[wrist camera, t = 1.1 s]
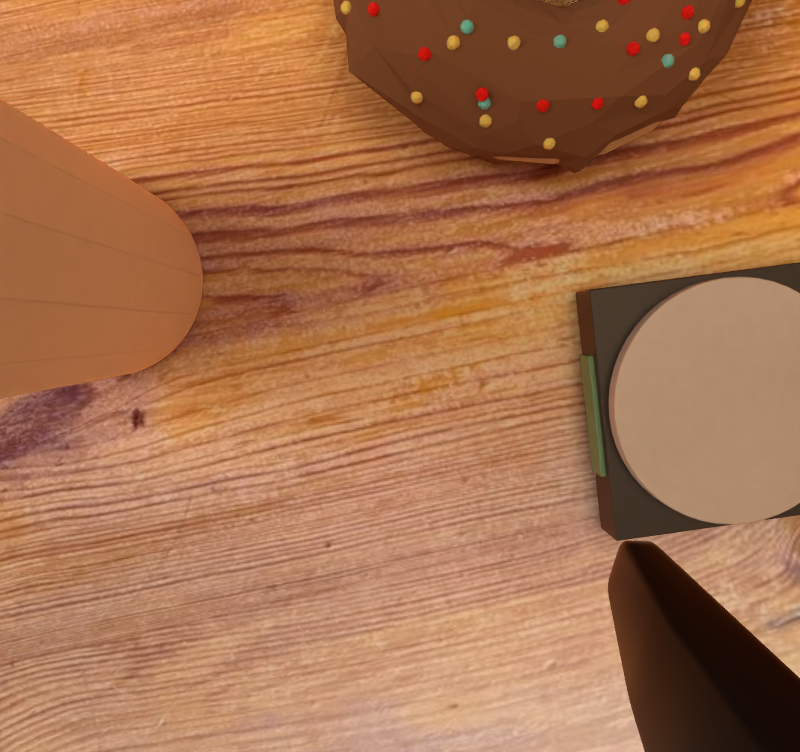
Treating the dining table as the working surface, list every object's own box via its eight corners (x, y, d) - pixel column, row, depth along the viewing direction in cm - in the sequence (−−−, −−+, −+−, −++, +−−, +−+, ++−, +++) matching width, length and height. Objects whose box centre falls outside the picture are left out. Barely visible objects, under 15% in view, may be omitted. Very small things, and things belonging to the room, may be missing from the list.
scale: (595, 528, 25) (616, 548, 23) (569, 292, 24) (589, 289, 22) (829, 495, 25) (873, 511, 23) (810, 261, 25) (853, 255, 23)
